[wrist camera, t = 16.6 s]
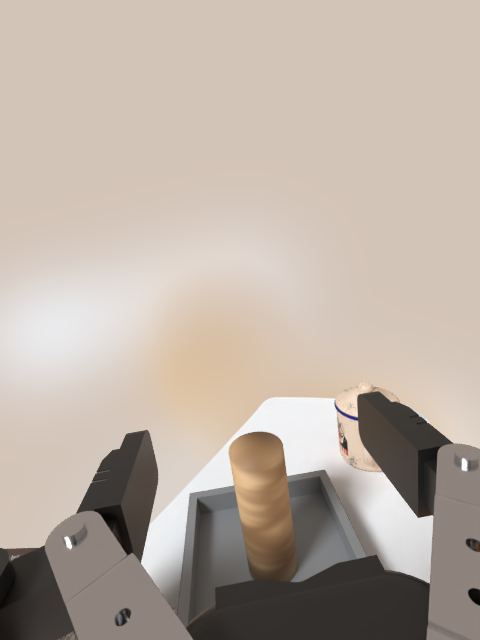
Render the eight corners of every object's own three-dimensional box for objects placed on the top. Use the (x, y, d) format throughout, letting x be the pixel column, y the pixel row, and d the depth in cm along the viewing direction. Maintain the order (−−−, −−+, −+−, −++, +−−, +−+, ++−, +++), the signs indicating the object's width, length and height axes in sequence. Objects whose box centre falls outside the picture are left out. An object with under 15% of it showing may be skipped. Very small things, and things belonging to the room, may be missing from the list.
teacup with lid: (340, 433, 55) (335, 370, 53) (399, 438, 52) (397, 371, 49) (334, 484, 45) (328, 409, 42) (408, 494, 41) (406, 413, 38)
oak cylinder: (251, 592, 32) (229, 471, 28) (246, 544, 37) (227, 436, 33) (303, 582, 32) (288, 460, 28) (291, 536, 37) (277, 428, 34)
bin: (180, 702, 25) (171, 671, 25) (194, 515, 43) (189, 493, 42) (401, 657, 26) (400, 625, 25) (326, 491, 44) (324, 469, 43)
